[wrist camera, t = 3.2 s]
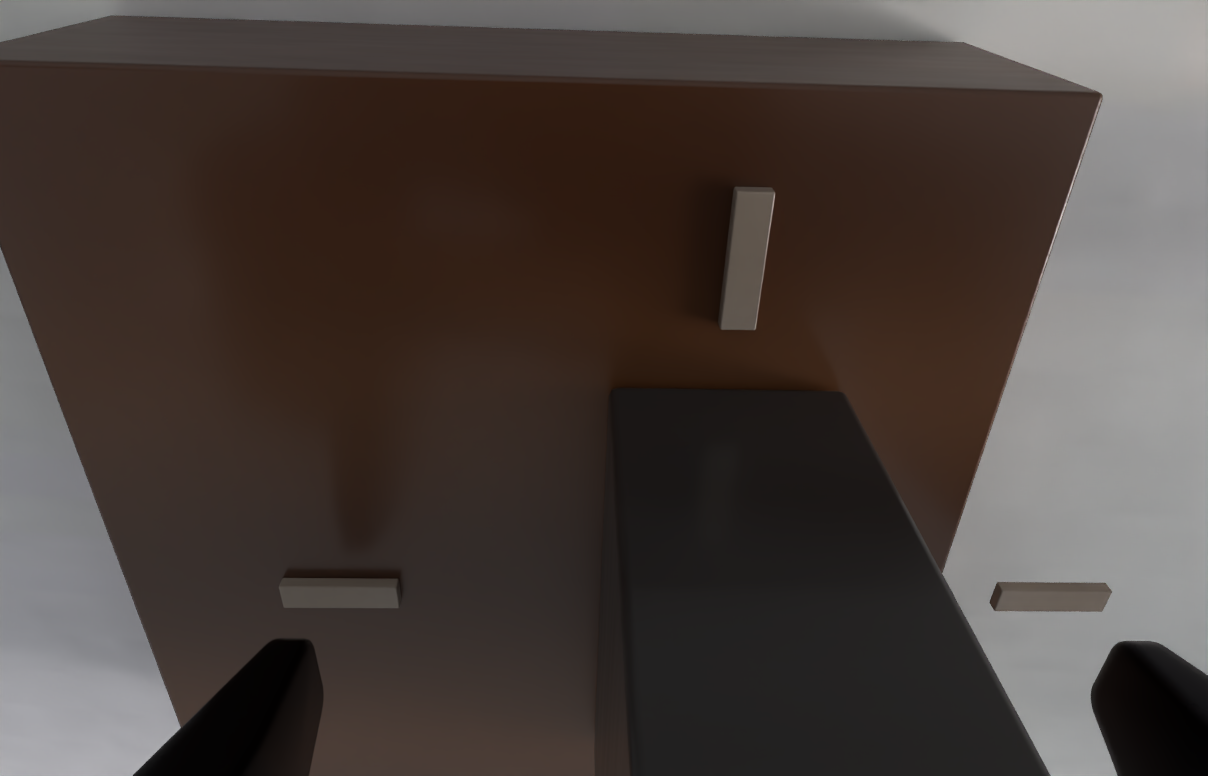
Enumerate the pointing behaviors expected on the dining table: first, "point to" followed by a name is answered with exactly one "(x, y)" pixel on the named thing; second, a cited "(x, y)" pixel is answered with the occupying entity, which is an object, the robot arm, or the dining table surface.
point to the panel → (492, 321)
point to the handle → (779, 603)
